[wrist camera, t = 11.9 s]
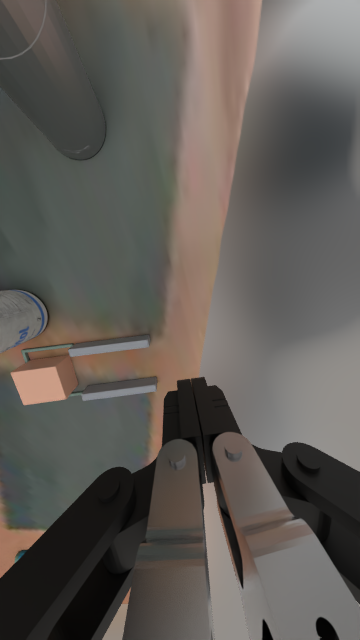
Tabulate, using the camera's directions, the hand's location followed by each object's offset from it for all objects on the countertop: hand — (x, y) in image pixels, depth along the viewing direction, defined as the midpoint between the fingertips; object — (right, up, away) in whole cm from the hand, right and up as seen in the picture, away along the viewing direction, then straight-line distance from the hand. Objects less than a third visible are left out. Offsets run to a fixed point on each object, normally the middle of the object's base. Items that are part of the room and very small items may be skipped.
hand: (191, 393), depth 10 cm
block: (-27, -7, +28) cm, 40 cm away
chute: (-14, -5, +29) cm, 32 cm away
